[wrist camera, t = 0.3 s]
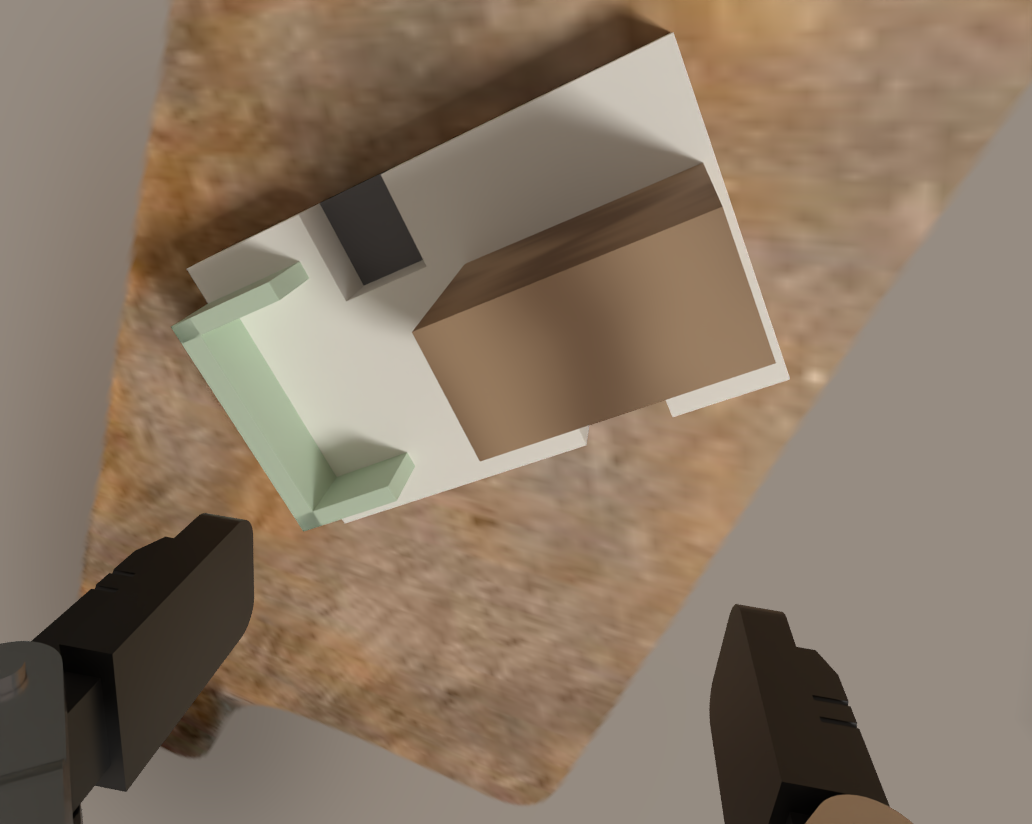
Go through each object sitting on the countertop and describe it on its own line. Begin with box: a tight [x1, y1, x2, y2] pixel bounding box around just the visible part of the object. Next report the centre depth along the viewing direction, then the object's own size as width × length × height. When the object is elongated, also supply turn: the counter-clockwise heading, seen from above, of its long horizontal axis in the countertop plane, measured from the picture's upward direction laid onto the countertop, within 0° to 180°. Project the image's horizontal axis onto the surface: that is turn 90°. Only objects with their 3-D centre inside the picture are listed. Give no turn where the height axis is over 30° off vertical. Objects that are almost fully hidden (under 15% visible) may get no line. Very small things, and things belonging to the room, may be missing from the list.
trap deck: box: [171, 32, 790, 531], centre depth 32 cm, size 22×14×6 cm, turn 115°
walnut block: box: [412, 163, 776, 461], centre depth 27 cm, size 10×5×8 cm, turn 115°
